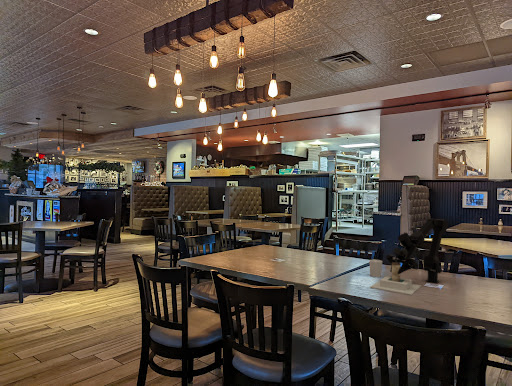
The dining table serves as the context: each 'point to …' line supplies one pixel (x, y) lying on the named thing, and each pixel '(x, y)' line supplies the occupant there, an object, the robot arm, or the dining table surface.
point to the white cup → (375, 268)
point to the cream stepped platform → (396, 285)
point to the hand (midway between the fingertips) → (394, 272)
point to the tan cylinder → (396, 271)
